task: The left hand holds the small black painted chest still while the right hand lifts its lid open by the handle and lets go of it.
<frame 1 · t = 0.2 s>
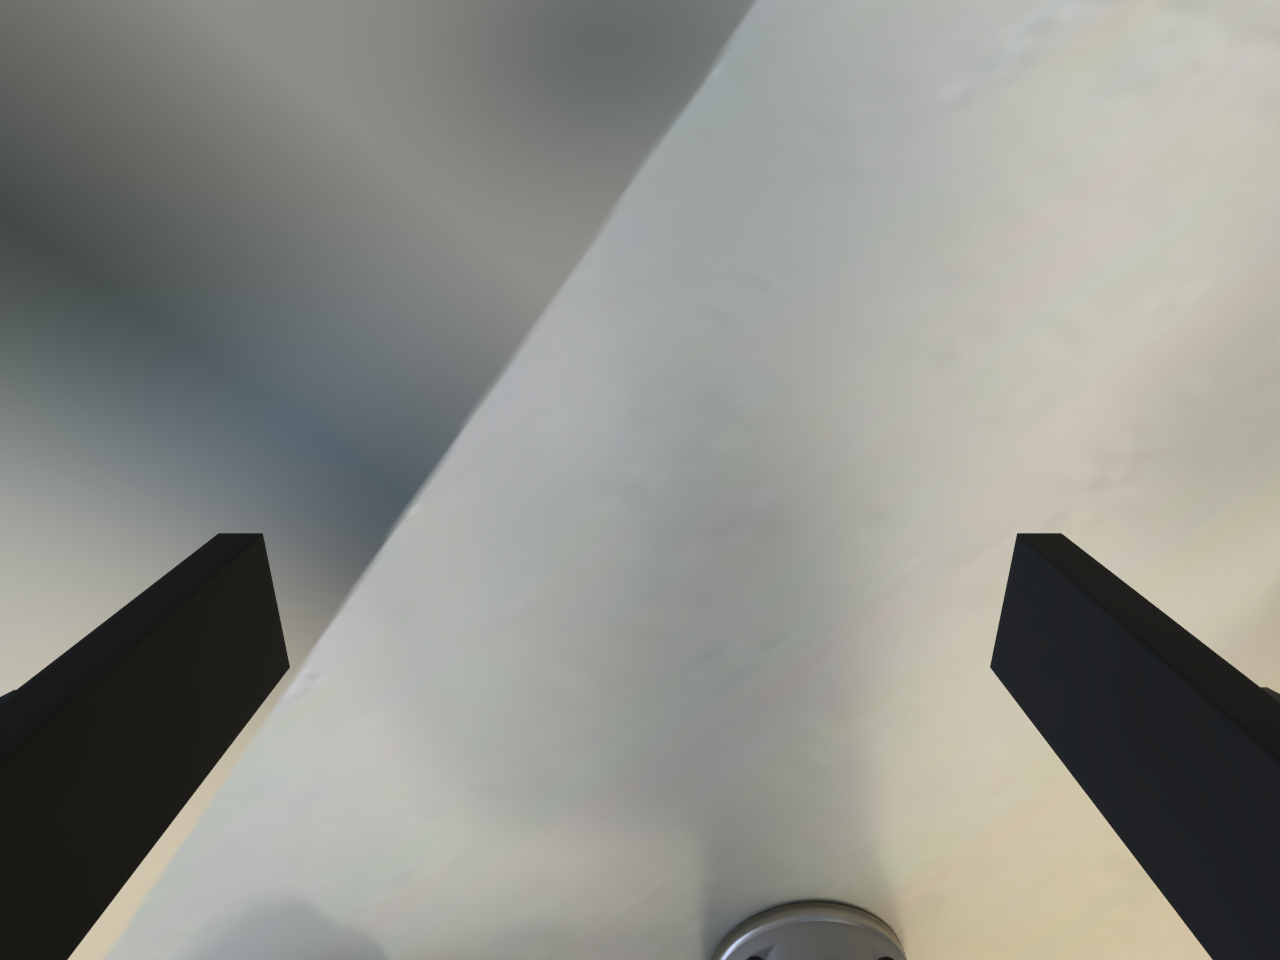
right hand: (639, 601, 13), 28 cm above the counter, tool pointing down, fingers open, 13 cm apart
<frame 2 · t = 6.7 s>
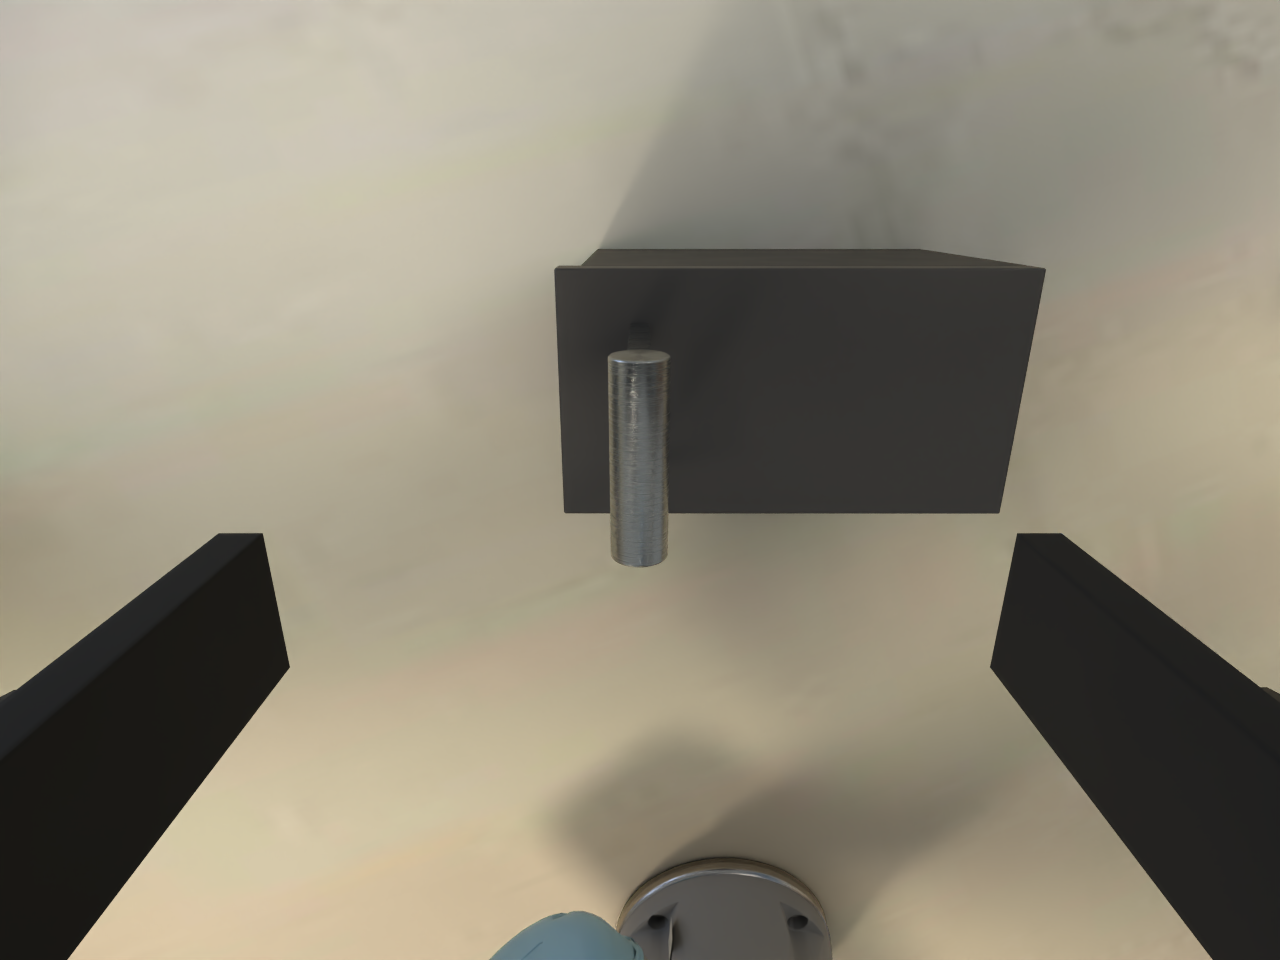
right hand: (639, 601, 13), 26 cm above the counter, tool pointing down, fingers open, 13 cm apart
lid: (810, 423, 23), point 15 cm above the counter, hinge at 0.0°
chest: (753, 341, 37), on the counter
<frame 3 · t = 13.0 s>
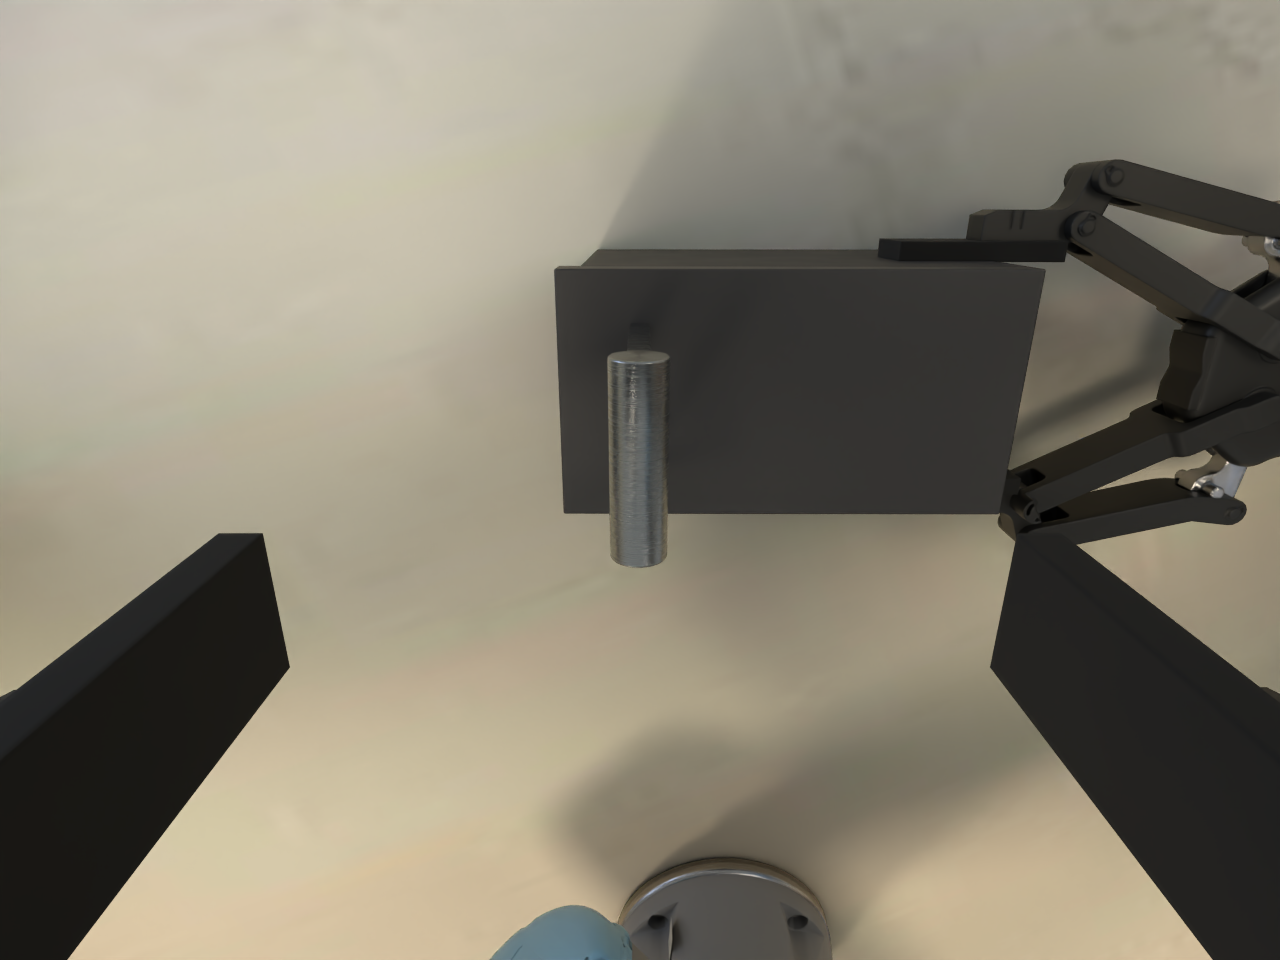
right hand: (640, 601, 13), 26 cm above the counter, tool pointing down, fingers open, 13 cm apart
left hand: (874, 369, 31), fingers closed on chest, 9 cm apart
lid: (809, 424, 23), point 15 cm above the counter, hinge at 0.0°
chest: (753, 341, 37), on the counter, touching left hand
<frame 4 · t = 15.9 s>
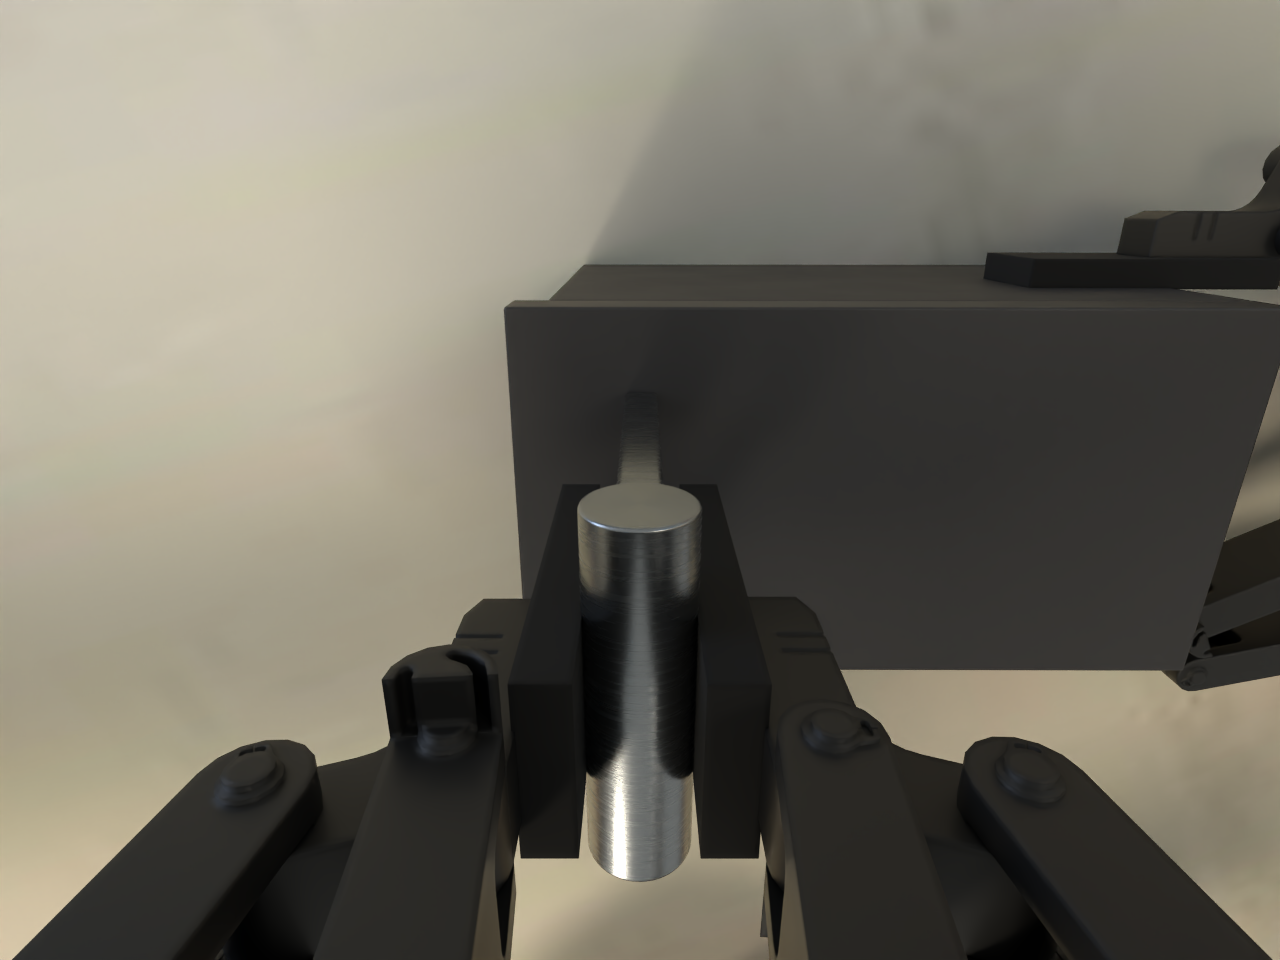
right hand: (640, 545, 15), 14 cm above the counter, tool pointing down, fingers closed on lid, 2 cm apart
lid: (926, 571, 14), point 15 cm above the counter, hinge at -0.1°, touching right hand
chest: (792, 387, 28), on the counter, touching left hand
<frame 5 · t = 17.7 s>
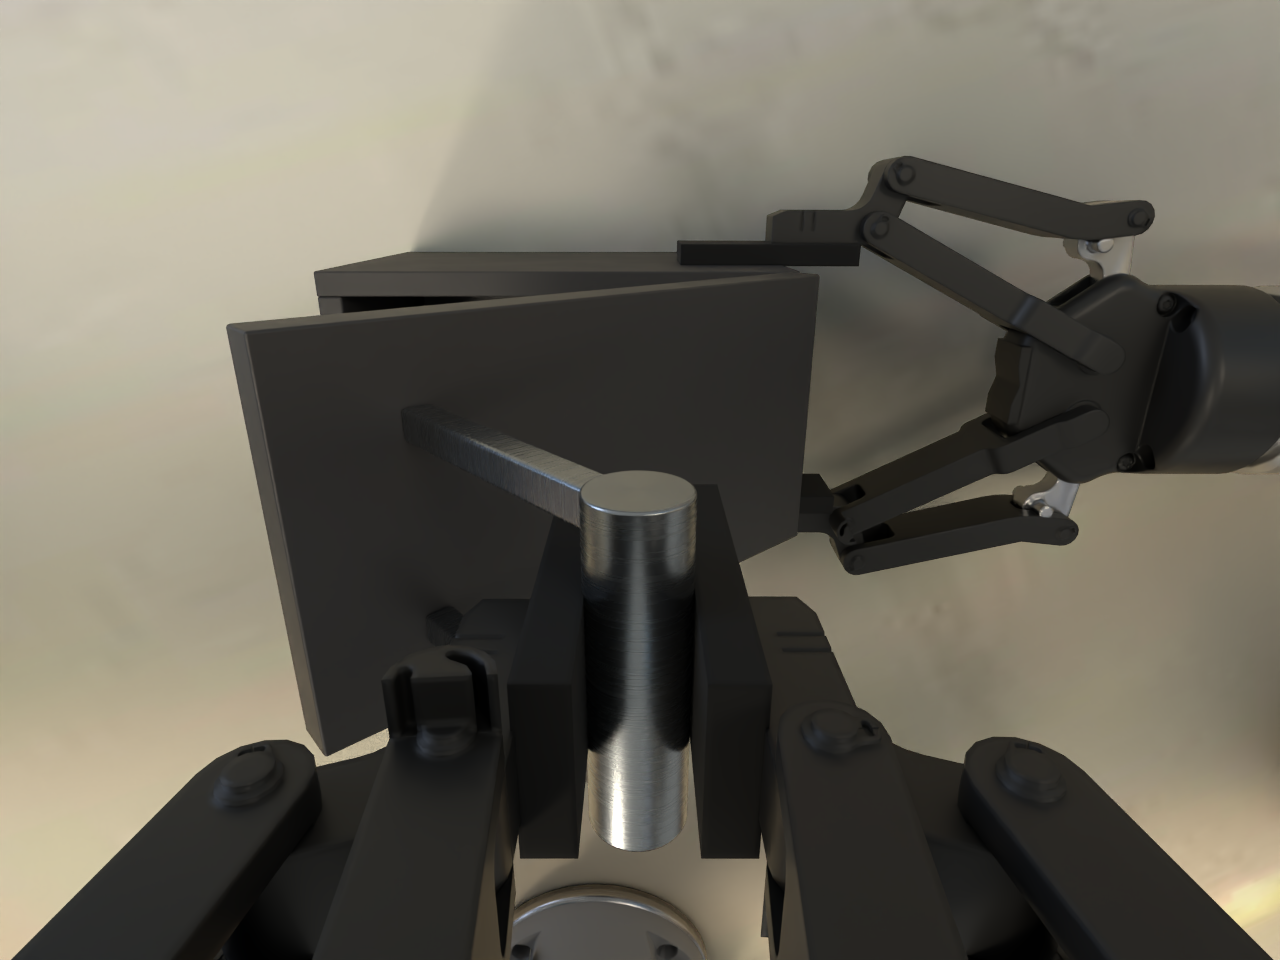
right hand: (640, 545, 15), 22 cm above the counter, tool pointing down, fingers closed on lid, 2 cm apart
left hand: (676, 380, 29), fingers closed on chest, 9 cm apart
lid: (709, 505, 17), point 20 cm above the counter, hinge at 41.3°, touching right hand
chest: (581, 349, 35), on the counter, touching left hand
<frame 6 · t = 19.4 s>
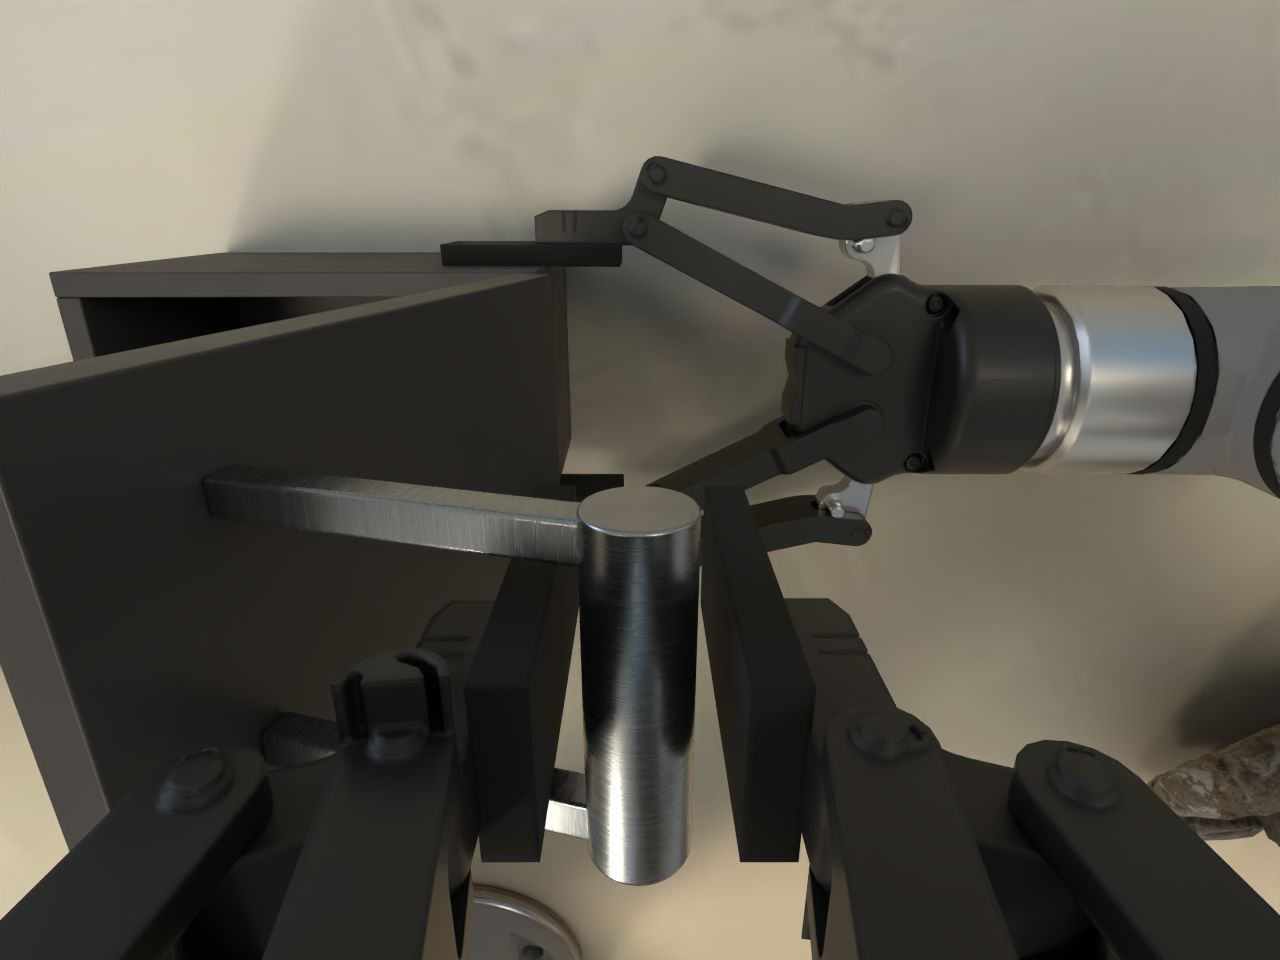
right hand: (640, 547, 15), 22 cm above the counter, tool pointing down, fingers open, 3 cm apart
left hand: (461, 380, 29), fingers closed on chest, 9 cm apart
lid: (551, 517, 16), point 20 cm above the counter, hinge at 73.6°
chest: (404, 350, 35), on the counter, touching left hand
when the left hand's fingers open (7 cm above the counter, at t = 23.0 s): chest stays where it is, on the counter.
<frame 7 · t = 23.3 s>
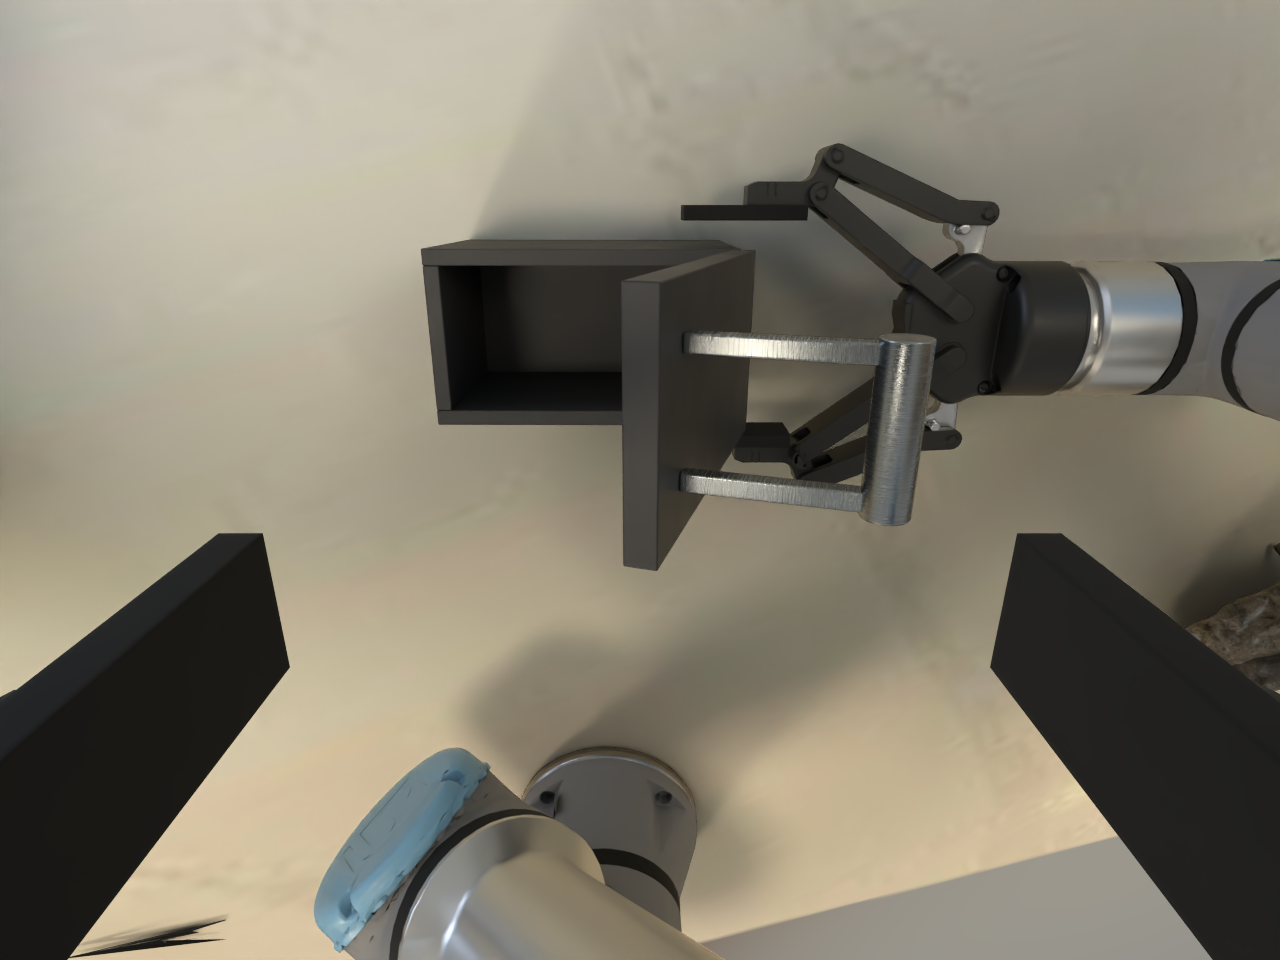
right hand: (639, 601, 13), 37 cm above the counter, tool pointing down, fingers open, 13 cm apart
left hand: (679, 329, 41), fingers open, 12 cm apart
lid: (797, 384, 28), point 21 cm above the counter, hinge at 72.5°
chest: (595, 312, 48), on the counter
feather: (100, 945, 68), on the counter
fossil: (1262, 588, 55), on the counter
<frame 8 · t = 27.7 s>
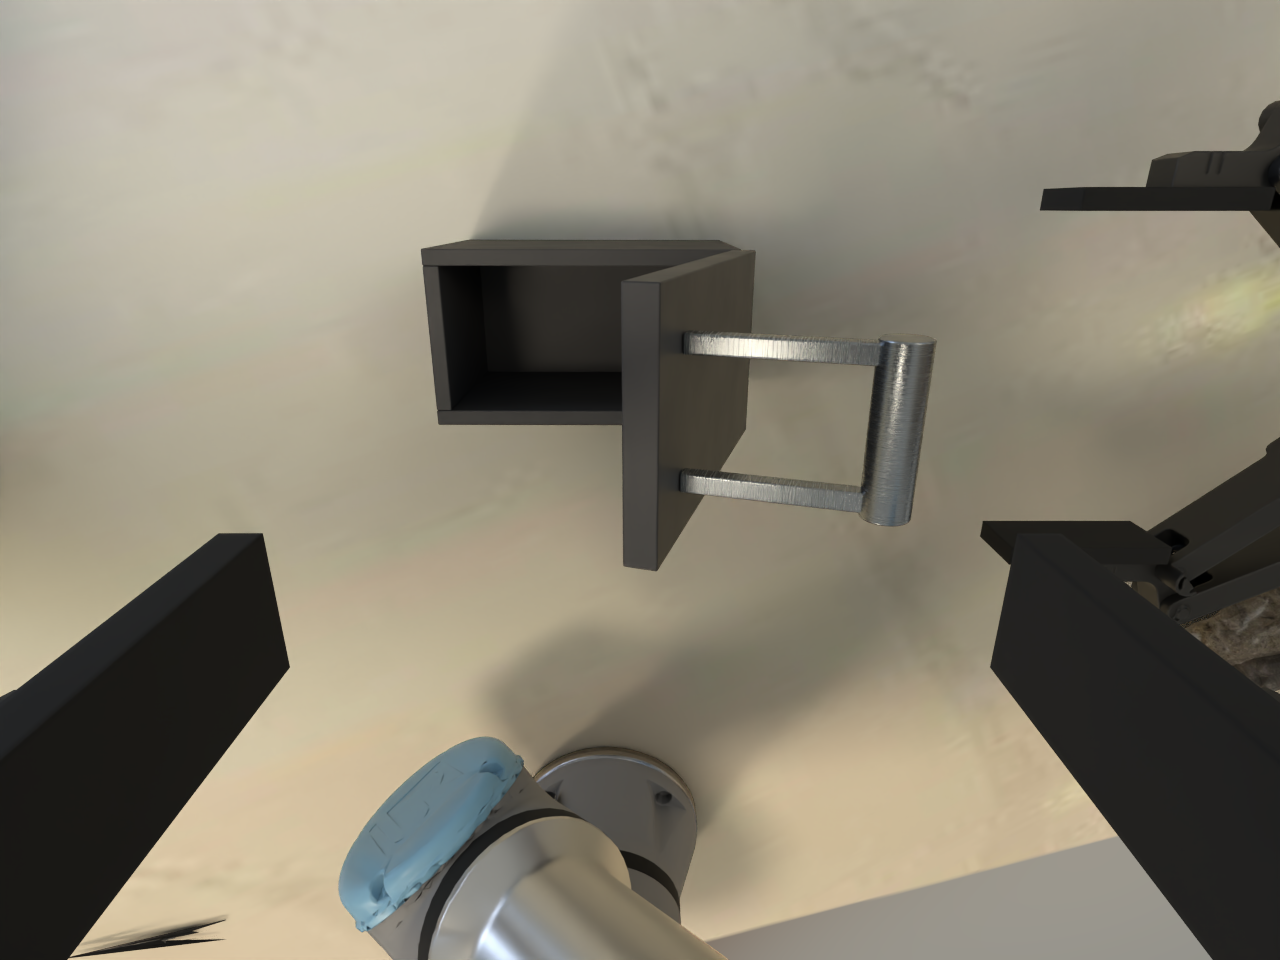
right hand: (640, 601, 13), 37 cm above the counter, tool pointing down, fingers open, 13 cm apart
lid: (797, 384, 28), point 21 cm above the counter, hinge at 72.5°
chest: (595, 312, 48), on the counter
feather: (100, 945, 68), on the counter
fossil: (1262, 588, 55), on the counter
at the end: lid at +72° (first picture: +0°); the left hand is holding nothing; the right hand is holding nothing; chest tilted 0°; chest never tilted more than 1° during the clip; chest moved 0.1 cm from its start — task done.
